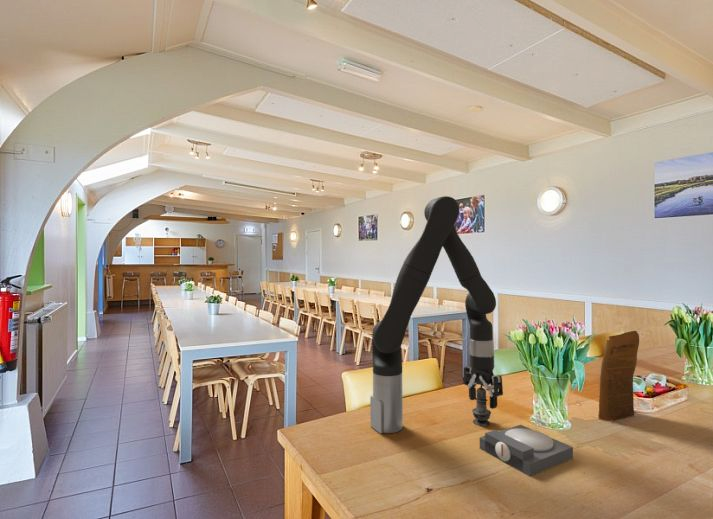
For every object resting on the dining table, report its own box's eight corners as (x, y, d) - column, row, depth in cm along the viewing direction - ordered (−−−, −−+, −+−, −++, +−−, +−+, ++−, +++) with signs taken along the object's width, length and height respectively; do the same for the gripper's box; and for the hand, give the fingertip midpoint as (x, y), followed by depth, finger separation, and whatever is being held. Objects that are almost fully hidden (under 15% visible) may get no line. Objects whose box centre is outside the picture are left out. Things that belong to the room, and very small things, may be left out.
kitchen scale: (529, 476, 94) (528, 456, 94) (478, 448, 108) (478, 430, 108) (572, 458, 102) (572, 439, 102) (520, 434, 116) (520, 417, 116)
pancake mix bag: (648, 415, 129) (647, 331, 129) (608, 425, 122) (608, 336, 122) (627, 408, 136) (627, 328, 136) (589, 417, 129) (588, 332, 129)
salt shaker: (492, 427, 121) (492, 388, 121) (472, 425, 123) (472, 387, 123) (489, 419, 127) (489, 382, 127) (471, 418, 128) (470, 381, 128)
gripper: (457, 350, 129) (458, 399, 129) (490, 359, 117) (491, 413, 117) (473, 347, 133) (474, 395, 133) (507, 356, 120) (509, 408, 120)
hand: (482, 403), depth 125 cm, fingers open, 8 cm apart
